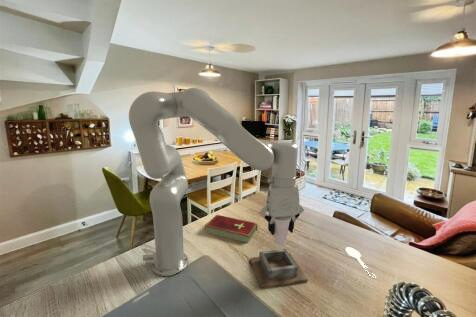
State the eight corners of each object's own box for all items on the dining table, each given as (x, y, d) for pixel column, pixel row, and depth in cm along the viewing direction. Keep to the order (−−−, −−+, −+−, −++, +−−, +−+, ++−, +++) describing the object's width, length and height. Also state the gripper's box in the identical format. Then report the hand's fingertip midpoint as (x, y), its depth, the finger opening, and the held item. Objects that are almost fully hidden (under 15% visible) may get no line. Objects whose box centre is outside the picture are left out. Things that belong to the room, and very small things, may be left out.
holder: (261, 288, 75) (262, 276, 74) (250, 260, 88) (250, 249, 87) (307, 281, 78) (308, 270, 77) (289, 255, 91) (290, 245, 90)
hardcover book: (216, 221, 117) (216, 213, 116) (257, 230, 109) (257, 222, 108) (204, 233, 106) (204, 225, 105) (248, 244, 99) (249, 235, 98)
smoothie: (289, 248, 77) (292, 209, 73) (270, 246, 78) (271, 207, 75) (289, 237, 83) (291, 200, 79) (271, 235, 84) (272, 199, 81)
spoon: (366, 279, 80) (367, 278, 80) (341, 247, 98) (342, 246, 97) (382, 279, 80) (382, 278, 80) (354, 247, 98) (354, 246, 98)
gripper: (261, 186, 70) (259, 240, 74) (314, 183, 73) (309, 234, 78) (254, 179, 77) (253, 228, 81) (302, 176, 81) (299, 223, 85)
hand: (280, 231), depth 79 cm, fingers closed on smoothie, 5 cm apart
